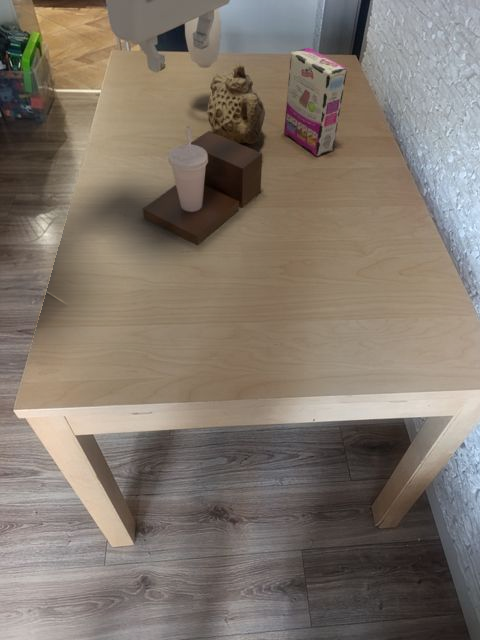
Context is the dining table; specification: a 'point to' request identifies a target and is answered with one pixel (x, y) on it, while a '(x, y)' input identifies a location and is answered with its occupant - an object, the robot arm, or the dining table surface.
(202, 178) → the smoothie
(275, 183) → the dining table surface
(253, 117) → the teapot
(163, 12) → the robot arm
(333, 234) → the dining table surface
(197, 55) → the white vase
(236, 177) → the step shelf
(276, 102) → the dining table surface
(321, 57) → the candy bar box
